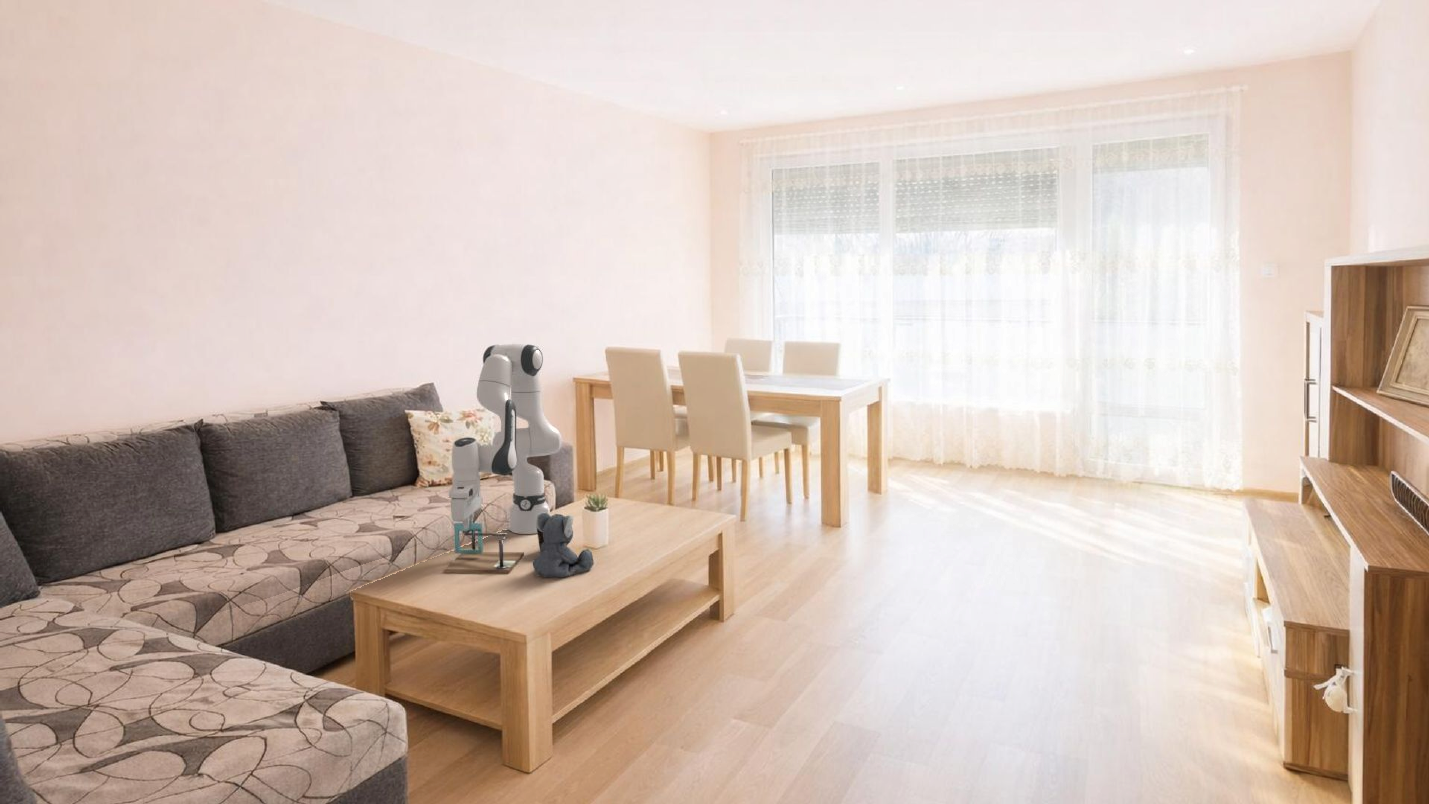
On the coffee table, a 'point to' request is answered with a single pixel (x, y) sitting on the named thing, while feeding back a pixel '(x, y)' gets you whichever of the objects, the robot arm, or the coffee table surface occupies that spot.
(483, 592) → the coffee table surface
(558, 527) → the koala plush
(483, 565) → the board
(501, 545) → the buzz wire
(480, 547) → the teal picture frame
